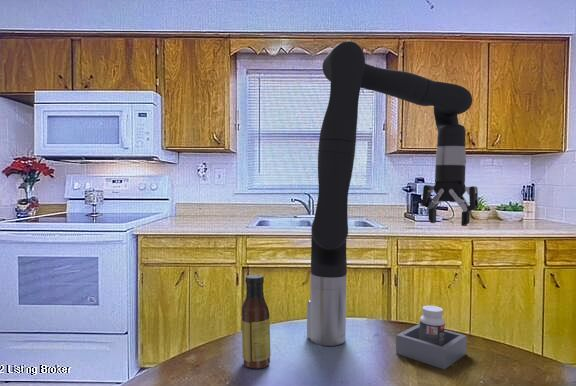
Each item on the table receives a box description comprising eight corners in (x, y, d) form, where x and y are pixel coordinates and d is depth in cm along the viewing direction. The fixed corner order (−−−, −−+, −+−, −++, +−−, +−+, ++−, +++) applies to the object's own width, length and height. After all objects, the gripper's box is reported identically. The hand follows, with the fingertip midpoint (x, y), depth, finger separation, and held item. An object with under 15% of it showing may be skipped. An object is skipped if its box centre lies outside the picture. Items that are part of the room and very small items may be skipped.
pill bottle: (444, 355, 99) (446, 313, 99) (419, 352, 101) (421, 310, 100) (442, 345, 105) (443, 306, 104) (417, 343, 106) (419, 303, 106)
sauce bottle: (274, 360, 98) (275, 274, 97) (264, 372, 92) (265, 280, 91) (248, 356, 100) (249, 271, 99) (236, 367, 94) (237, 277, 93)
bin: (395, 353, 102) (396, 334, 102) (419, 340, 111) (420, 323, 111) (444, 369, 94) (445, 349, 94) (466, 354, 103) (466, 335, 103)
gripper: (418, 163, 116) (417, 223, 117) (472, 163, 106) (470, 227, 107) (431, 164, 122) (429, 221, 122) (483, 164, 112) (480, 225, 112)
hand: (448, 224), depth 115 cm, fingers open, 8 cm apart
